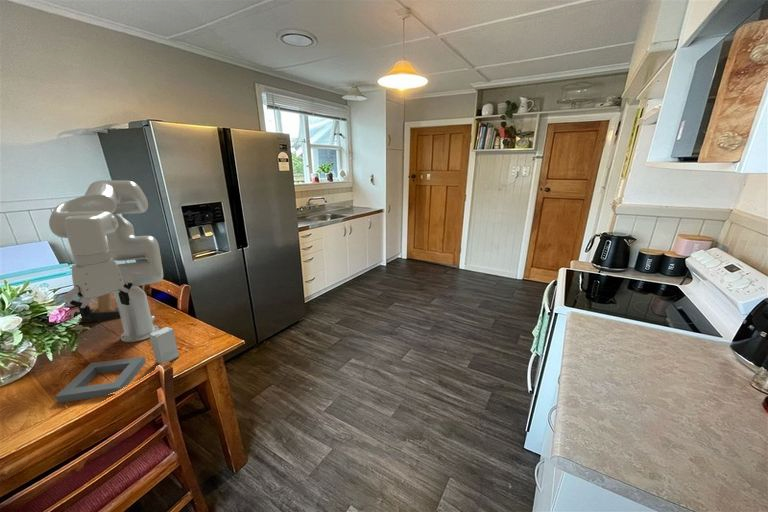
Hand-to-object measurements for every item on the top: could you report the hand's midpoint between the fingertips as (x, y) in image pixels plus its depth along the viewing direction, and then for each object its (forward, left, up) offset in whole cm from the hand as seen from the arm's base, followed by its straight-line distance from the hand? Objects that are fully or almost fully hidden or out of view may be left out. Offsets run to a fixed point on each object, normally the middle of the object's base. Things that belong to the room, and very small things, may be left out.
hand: (107, 310), depth 90 cm
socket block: (-2, -7, -26) cm, 27 cm away
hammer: (-52, -32, -27) cm, 67 cm away
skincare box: (-10, +8, -27) cm, 29 cm away
